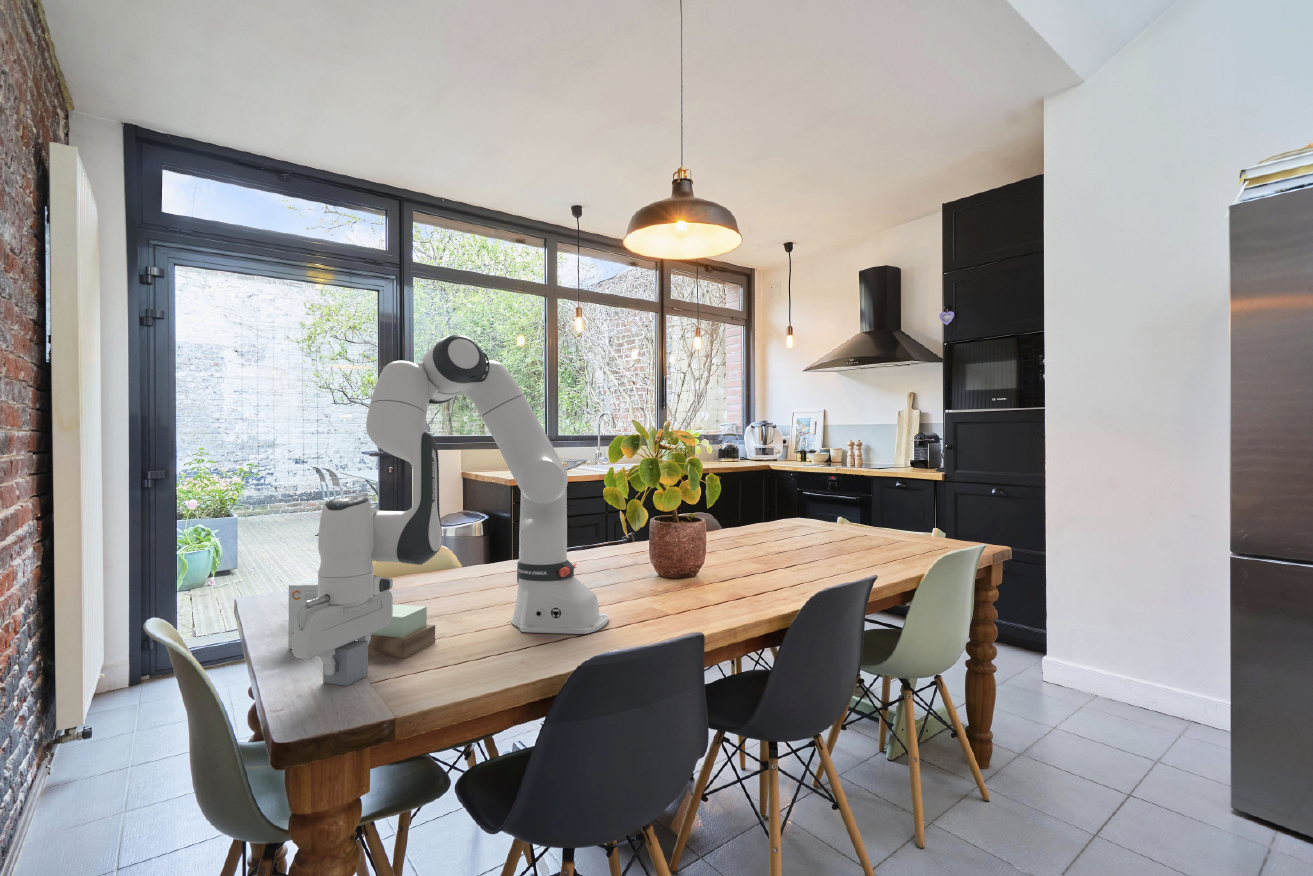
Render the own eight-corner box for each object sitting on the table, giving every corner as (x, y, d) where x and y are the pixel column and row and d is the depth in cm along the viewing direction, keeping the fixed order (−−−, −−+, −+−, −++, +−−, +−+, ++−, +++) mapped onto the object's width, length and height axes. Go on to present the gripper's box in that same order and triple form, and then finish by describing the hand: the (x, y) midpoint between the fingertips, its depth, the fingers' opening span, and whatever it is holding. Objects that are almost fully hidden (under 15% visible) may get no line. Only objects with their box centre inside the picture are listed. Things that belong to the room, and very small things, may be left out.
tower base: (435, 644, 130) (435, 625, 130) (404, 660, 120) (404, 639, 120) (394, 639, 132) (394, 621, 132) (360, 655, 122) (360, 635, 122)
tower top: (426, 625, 129) (426, 606, 129) (402, 637, 121) (402, 617, 121) (392, 623, 131) (393, 604, 131) (367, 634, 123) (367, 614, 123)
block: (367, 675, 111) (367, 642, 111) (346, 686, 106) (347, 651, 106) (344, 672, 112) (344, 639, 112) (323, 682, 108) (323, 648, 108)
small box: (342, 638, 132) (342, 577, 132) (329, 648, 125) (329, 584, 125) (302, 639, 131) (302, 578, 131) (287, 649, 125) (287, 585, 125)
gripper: (314, 605, 99) (313, 692, 99) (399, 577, 118) (398, 650, 118) (282, 602, 100) (281, 687, 100) (371, 575, 120) (370, 646, 120)
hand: (345, 667), depth 109 cm, fingers closed on block, 5 cm apart
